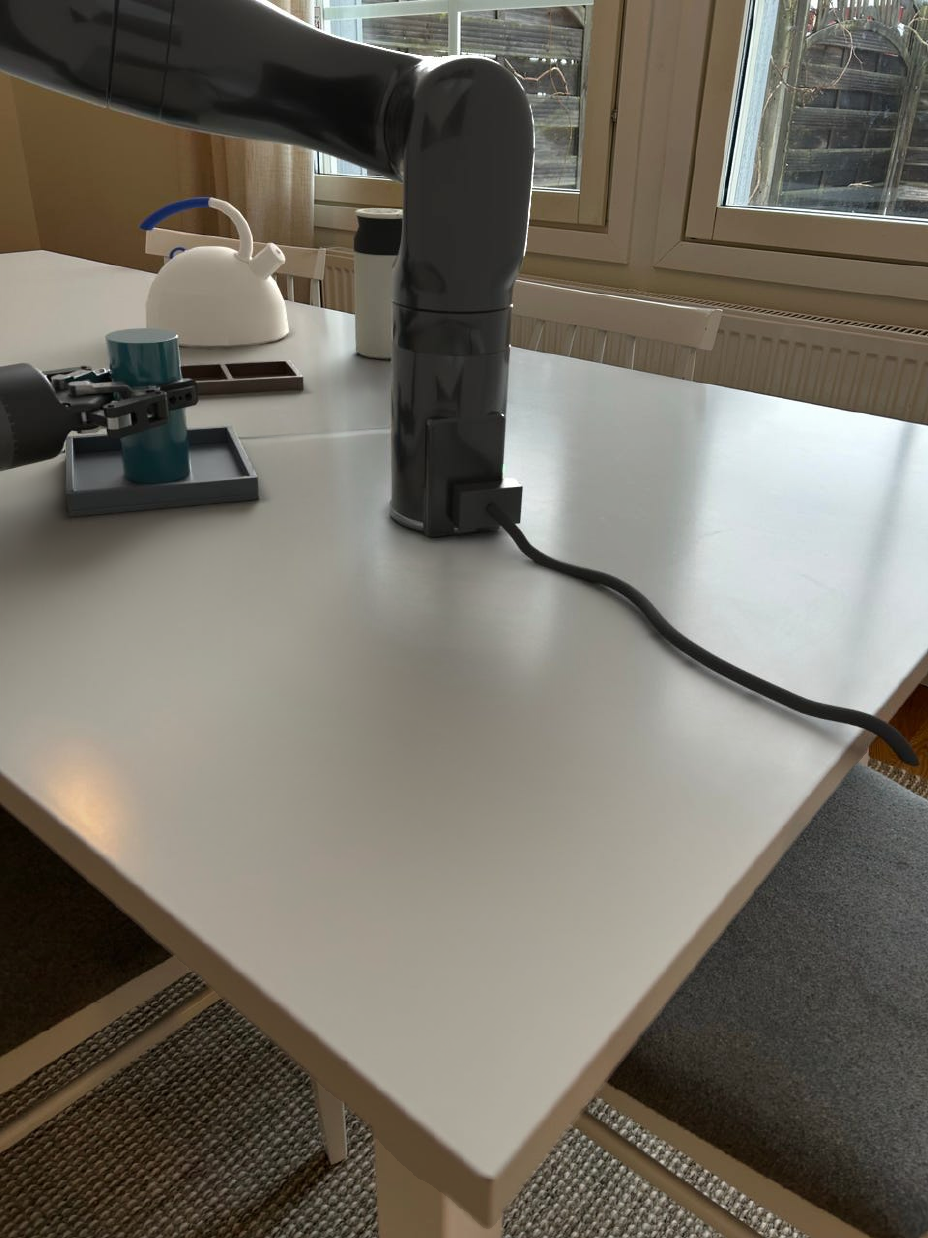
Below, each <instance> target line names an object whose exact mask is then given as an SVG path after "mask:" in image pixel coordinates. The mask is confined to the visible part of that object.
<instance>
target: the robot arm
mask: <svg viewBox="0 0 928 1238" xmlns="http://www.w3.org/2000/svg"><path fill="white" fill-rule="evenodd" d="M0 72H1V73H4V74H6V75H9V76H11V77H14V78H17V79H20V80H21V81H24V82H27V83H30V84H33V85H35V86H38V87H41V88H43V89H47V90H50V91H52V92H56V93H58V94H62V95H65V96H68V97H70V98H74V99H77V100H79V101H82V102H86V103H88V104H91V105H94V106H97V107H100V108H103V109H109V110H110V111H114V112H117V113H121V114H124V115H129V116H132V117H134V118H135V117H136V118H140V119H143V120H146V121H150V122H153V123H158V124H161V125H165V126H168V127H174V128H178V129H182V130H186V131H192V132H197V133H203V134H208V135H214V136H220V137H225V138H231V139H239V140H247V141H255V142H264V143H272V144H282V145H288V146H293V147H294V146H295V147H299V148H303V149H307V150H311V151H315V152H318V153H321V154H324V155H328V156H330V157H333V158H336V159H339V160H341V161H343V162H346V163H349V164H352V165H355V166H357V167H360V168H362V169H364V170H367V171H368V172H369V171H370V172H372V173H374V174H377V175H378V176H381V177H384V178H386V179H388V180H390V181H392V182H394V183H398V184H400V185H402V210H403V216H402V238H401V244H400V249H399V253H398V255H397V257H396V259H395V261H394V263H393V265H392V271H391V299H392V301H391V359H390V469H391V470H390V476H391V478H390V480H391V481H390V484H391V485H390V486H391V488H390V489H391V491H390V492H391V493H390V494H391V495H390V496H391V498H390V501H389V513H390V517H392V519H393V520H394V521H395V522H397V523H399V525H402V526H403V527H406V528H408V529H412V530H415V531H419V532H422V533H424V534H425V535H426V537H428V538H437V537H444V536H452V535H453V536H454V535H462V534H471V533H480V532H488V531H496V530H497V531H498V530H500V529H501V528H502V529H503V530H504V531H505V532H506V533H507V534H508V535H509V536H510V537H511V539H512V540H513V542H514V543H515V544H516V546H517V548H518V549H519V550H520V552H521V553H522V554H523V555H524V556H525V557H528V558H529V559H530V560H532V561H533V562H535V563H536V564H538V565H540V566H542V567H546V568H548V569H549V570H554V571H556V572H559V573H562V574H565V575H567V576H571V577H574V578H577V579H580V580H585V581H589V582H592V583H596V584H599V585H602V586H605V587H606V588H609V589H612V590H613V591H614V592H615V591H616V592H617V593H619V594H620V595H621V596H623V597H625V598H626V599H627V600H628V601H630V602H631V603H632V604H633V605H635V606H636V608H638V610H640V612H641V613H642V614H643V615H644V617H645V618H646V619H647V620H648V621H649V622H650V624H651V625H652V626H653V627H654V628H655V629H656V631H657V632H658V633H659V634H660V635H662V637H663V638H664V639H665V640H667V641H668V642H669V643H670V644H671V645H673V646H674V647H675V648H677V649H678V650H679V651H680V652H682V653H683V654H685V655H687V656H688V657H690V658H691V659H693V660H694V661H696V662H698V663H699V664H701V665H702V666H704V667H706V668H708V669H710V670H711V671H712V672H715V673H716V674H719V675H720V676H722V677H725V678H726V679H728V680H730V681H732V682H734V683H736V684H737V685H739V686H742V687H744V688H746V689H748V690H750V691H752V692H754V693H757V694H758V695H760V696H762V697H764V698H767V699H769V700H771V701H774V702H775V703H777V704H780V705H782V706H784V707H787V708H788V709H791V710H793V711H795V712H797V713H800V714H803V715H806V716H809V717H814V718H817V719H821V720H825V721H831V722H836V723H840V724H843V725H849V726H854V727H857V728H860V729H863V730H866V731H868V732H870V733H872V734H874V735H876V736H877V737H879V738H880V739H881V740H882V741H884V742H885V743H886V744H887V745H888V746H889V747H890V748H891V749H892V751H893V752H894V753H895V755H896V756H897V758H898V760H899V761H901V762H902V763H903V764H905V765H908V766H910V767H918V766H920V765H921V764H920V761H919V758H918V756H917V754H916V752H915V750H914V748H913V747H912V746H911V744H910V743H909V742H908V740H907V739H906V738H905V737H904V736H903V735H902V733H901V732H900V731H899V730H897V729H896V727H894V726H893V725H891V724H890V723H888V722H886V721H885V720H883V719H881V718H880V717H877V716H875V715H873V714H871V713H868V712H864V711H860V710H858V709H852V708H849V707H844V706H838V705H832V704H828V703H824V702H818V701H815V700H812V699H809V698H806V697H803V696H801V695H799V694H796V693H794V692H792V691H790V690H787V689H786V688H783V687H781V686H778V685H776V684H774V683H772V682H769V681H768V680H766V679H763V678H761V677H759V676H757V675H755V674H753V673H750V672H749V671H746V670H744V669H742V668H741V667H738V666H736V665H735V664H732V663H730V662H728V661H727V660H725V659H722V658H720V657H719V656H717V655H715V654H714V653H712V652H710V651H709V650H707V649H705V648H704V647H702V646H701V645H699V644H698V643H696V642H694V641H693V640H692V639H689V638H688V637H686V636H685V635H684V634H682V632H680V631H679V630H677V629H676V628H675V627H674V626H673V625H672V624H671V623H670V622H668V620H667V619H666V618H665V617H664V616H663V614H661V612H660V611H659V610H658V609H657V607H655V605H654V604H653V603H652V602H651V601H650V599H648V598H647V597H646V596H645V595H644V594H643V593H642V592H640V591H639V590H638V589H637V588H636V587H634V586H632V585H631V584H629V583H628V582H626V581H624V580H622V579H621V578H619V577H618V576H615V575H612V574H609V573H607V572H603V571H600V570H595V569H592V568H589V567H585V566H584V567H583V566H579V565H574V564H571V563H567V562H563V561H561V560H558V559H556V558H553V557H552V556H549V555H547V554H546V553H543V552H542V551H540V550H539V549H537V548H536V547H535V546H533V545H532V544H531V542H529V540H528V539H527V537H526V536H525V534H524V533H523V531H522V529H520V527H518V525H519V524H521V519H522V505H523V493H524V492H523V491H524V490H523V489H524V486H523V485H522V484H521V483H520V482H519V481H518V480H516V479H515V478H513V477H508V478H504V471H505V463H504V462H505V461H504V460H505V445H506V429H507V412H508V411H507V410H508V392H509V377H510V376H509V375H510V360H511V344H512V330H513V329H512V328H513V311H514V310H513V309H514V305H513V304H514V295H515V286H516V281H517V278H518V275H519V273H520V271H521V268H522V266H523V262H524V259H525V254H526V248H527V238H528V230H529V229H528V228H529V220H530V209H531V198H532V190H533V189H532V188H533V177H534V163H535V125H534V124H535V123H534V119H533V118H534V116H533V111H532V108H531V107H532V106H531V103H530V101H529V98H528V95H527V93H526V91H525V89H524V87H523V85H522V83H521V81H519V79H517V77H516V76H515V75H514V74H513V72H511V71H510V70H509V69H508V68H507V67H505V66H504V65H502V64H501V63H500V62H498V61H495V60H493V59H490V58H488V57H484V56H480V55H473V54H472V55H468V54H467V55H466V54H461V55H449V56H442V57H441V56H440V57H439V56H437V57H436V56H435V57H434V56H423V55H417V54H412V53H405V52H401V51H396V50H391V49H386V48H383V47H379V46H375V45H371V44H367V43H362V42H358V41H355V40H351V39H347V38H345V37H341V36H337V35H334V34H331V33H329V32H327V31H324V30H323V29H319V28H317V27H314V26H313V25H311V24H309V23H307V22H305V21H303V20H301V19H299V18H298V17H297V16H295V15H292V14H291V13H289V12H287V11H286V10H283V9H282V8H280V7H278V6H277V5H275V4H273V3H271V2H270V1H268V0H0ZM113 392H118V393H119V394H120V399H121V401H118V402H117V401H115V400H114V395H113ZM134 396H136V397H134ZM198 403H199V396H198V389H197V383H196V381H195V380H192V379H189V378H186V379H181V380H177V381H172V382H168V383H162V384H157V385H149V386H136V387H130V386H129V385H128V384H127V383H126V382H124V381H120V382H111V377H110V370H109V368H106V367H99V368H97V369H94V370H93V367H92V366H91V365H90V366H89V365H85V364H84V365H83V364H82V365H80V366H74V367H66V368H58V369H51V370H50V369H49V370H44V371H43V370H42V371H41V370H40V369H39V368H37V367H36V366H35V365H32V364H30V363H26V362H20V363H14V364H6V365H1V366H0V472H4V471H9V470H12V469H16V468H20V467H24V466H28V465H32V464H36V463H41V462H45V461H49V460H52V459H55V458H56V457H58V456H59V455H60V454H61V453H62V451H63V449H64V448H65V444H66V438H67V437H69V434H70V433H71V432H76V433H77V434H78V435H88V434H96V433H98V432H99V431H101V430H106V434H107V437H108V438H109V439H115V440H116V439H119V438H123V437H126V436H129V435H133V434H136V433H139V432H142V431H145V430H148V429H152V428H155V427H158V426H161V425H165V424H167V423H169V414H168V411H173V410H177V409H181V408H185V409H186V408H191V407H194V406H197V404H198ZM500 527H501V528H500Z"/></svg>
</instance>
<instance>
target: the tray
mask: <svg viewBox="0 0 928 1238" xmlns="http://www.w3.org/2000/svg"><path fill="white" fill-rule="evenodd" d="M187 431H188V441H189V450H190V460H191V473H190V474H189V475H188V476H186V477H184V478H182V479H179V480H176V481H171V482H165V483H140V482H135V481H131V480H129V479H127V478H126V477H125V476H124V472H123V464H122V457H121V450H120V443H119V439H116V440H115V439H109V438H108V437H107V433H101V434H82V435H71V436H70V435H68V436H67V438H66V440H65V497H66V503H67V509H68V513H69V517H70V518H73V517H75V518H76V517H84V516H85V517H86V516H94V515H105V514H106V515H107V514H117V513H118V514H119V513H126V512H127V513H128V512H139V511H149V510H158V509H159V510H160V509H170V508H180V507H181V508H182V507H192V506H200V505H211V504H223V503H234V502H241V501H242V502H244V501H254V500H260V493H259V492H260V489H259V477H258V476H257V473H256V471H255V469H254V468H253V465H252V463H251V461H250V459H249V457H248V455H247V453H246V451H245V450H244V449H245V448H244V447H243V445H242V443H241V441H240V438H239V437H238V435H237V433H236V431H235V429H234V427H233V425H231V424H230V425H217V426H215V425H214V426H202V427H201V426H200V427H187Z"/></svg>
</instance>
